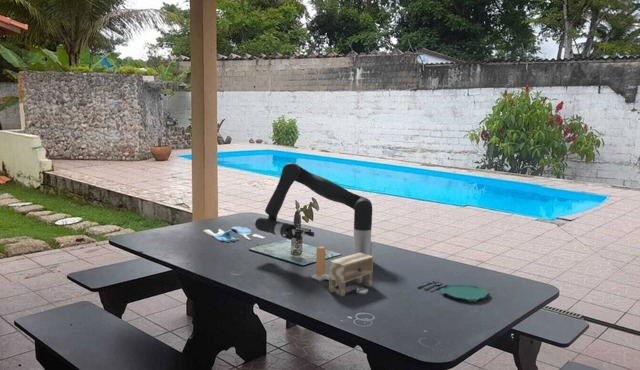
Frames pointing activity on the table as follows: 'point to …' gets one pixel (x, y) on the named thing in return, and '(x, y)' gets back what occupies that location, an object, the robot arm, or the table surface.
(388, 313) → the table surface
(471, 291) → the cutlery set
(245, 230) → the rubber gloves
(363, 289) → the steel disc
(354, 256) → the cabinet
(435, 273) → the table surface
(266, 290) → the table surface
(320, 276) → the orange post on base
